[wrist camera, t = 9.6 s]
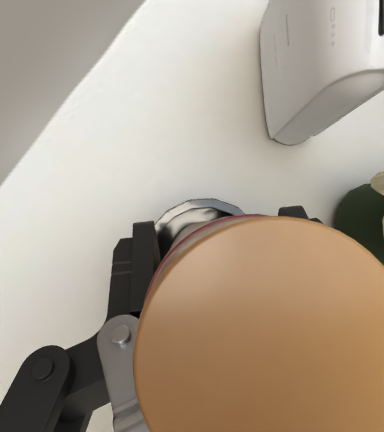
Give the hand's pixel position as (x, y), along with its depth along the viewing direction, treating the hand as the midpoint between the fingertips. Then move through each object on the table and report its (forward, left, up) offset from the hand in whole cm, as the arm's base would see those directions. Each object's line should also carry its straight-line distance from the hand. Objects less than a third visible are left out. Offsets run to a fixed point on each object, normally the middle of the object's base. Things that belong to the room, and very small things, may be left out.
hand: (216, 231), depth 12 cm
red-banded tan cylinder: (+1, +2, -8) cm, 8 cm away
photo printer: (-11, -7, -13) cm, 19 cm away
